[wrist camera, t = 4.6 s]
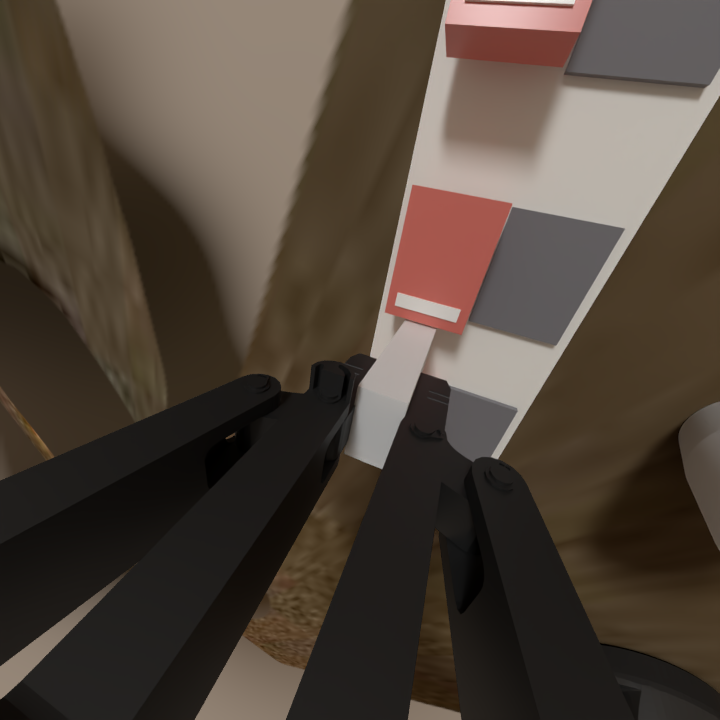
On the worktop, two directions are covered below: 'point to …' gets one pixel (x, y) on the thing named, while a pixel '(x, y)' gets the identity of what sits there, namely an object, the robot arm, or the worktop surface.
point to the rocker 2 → (514, 30)
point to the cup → (704, 463)
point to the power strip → (553, 189)
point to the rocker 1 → (444, 256)
